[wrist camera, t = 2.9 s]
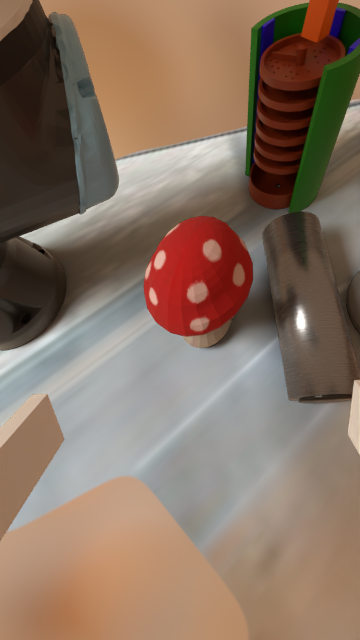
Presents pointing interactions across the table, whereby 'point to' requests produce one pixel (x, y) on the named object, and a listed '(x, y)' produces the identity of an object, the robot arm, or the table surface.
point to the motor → (298, 98)
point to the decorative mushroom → (198, 280)
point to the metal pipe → (308, 312)
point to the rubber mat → (354, 301)
